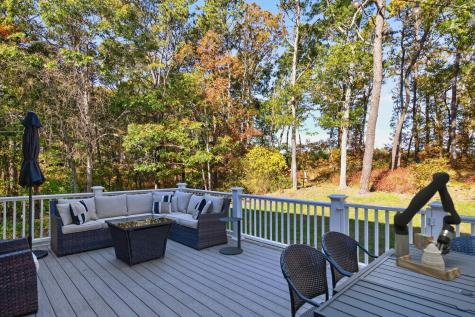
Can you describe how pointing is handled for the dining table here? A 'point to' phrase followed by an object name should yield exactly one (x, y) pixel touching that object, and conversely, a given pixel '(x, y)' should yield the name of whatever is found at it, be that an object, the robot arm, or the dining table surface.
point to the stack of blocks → (423, 240)
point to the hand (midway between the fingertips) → (437, 258)
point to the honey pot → (433, 257)
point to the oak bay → (427, 269)
